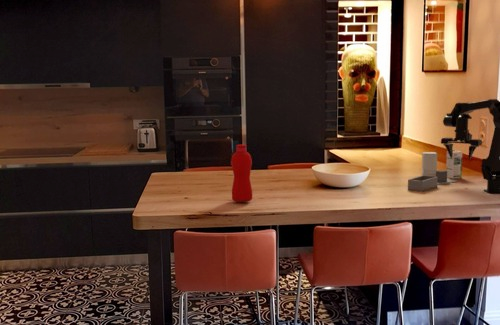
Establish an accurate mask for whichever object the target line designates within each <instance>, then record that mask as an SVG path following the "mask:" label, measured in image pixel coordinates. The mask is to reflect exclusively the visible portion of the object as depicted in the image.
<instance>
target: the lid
mask: <svg viewBox="0 0 500 325" xmlns="http://www.w3.org/2000/svg"><path fill="white" fill-rule="evenodd" d="M435 177H437V186H440V185H446V184H454V183H458V180H455V179H451V178H448V177H447V171H446V169H445V170H444V169H442V170H437V171H436V176H435ZM453 182H454V183H453Z"/></svg>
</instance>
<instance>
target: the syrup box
mask: <svg viewBox="0 0 500 325" xmlns="http://www.w3.org/2000/svg"><path fill="white" fill-rule="evenodd" d="M445 171H447V179H451V178H452V179H451V180H455V179H462V178H463V176H462V174H463V173H462V172H463V151H461V150H453V156H452V158H451V157H450V155H449V153H448V150H447V151H446V169H445Z"/></svg>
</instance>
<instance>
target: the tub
mask: <svg viewBox="0 0 500 325" xmlns="http://www.w3.org/2000/svg"><path fill="white" fill-rule="evenodd" d="M437 187H438V185H437V177H436V176H426V175H422V174H421V175H420V176H417V177H416V176H415V177H413V178H409V179H408V180H407V190H408V191H413V192H414V191H415V192H421V193H422V192H425V191H428V190H431V189H435V188H437Z"/></svg>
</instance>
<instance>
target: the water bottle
mask: <svg viewBox="0 0 500 325" xmlns="http://www.w3.org/2000/svg"><path fill="white" fill-rule="evenodd" d="M235 148H236V151H235V152H234V153H233V154H232V156H231V162H230V164H231V168H232V174H233V180H232V181H233V182H232V187H231V199H232V201H233V202H236V203H237V202H250V201H253V187H252V184H251V179H250V178H251V171H252V164H253V161H252V155H251V154H250V153H249V152H248V151H247V145H246V144H236V147H235Z"/></svg>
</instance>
